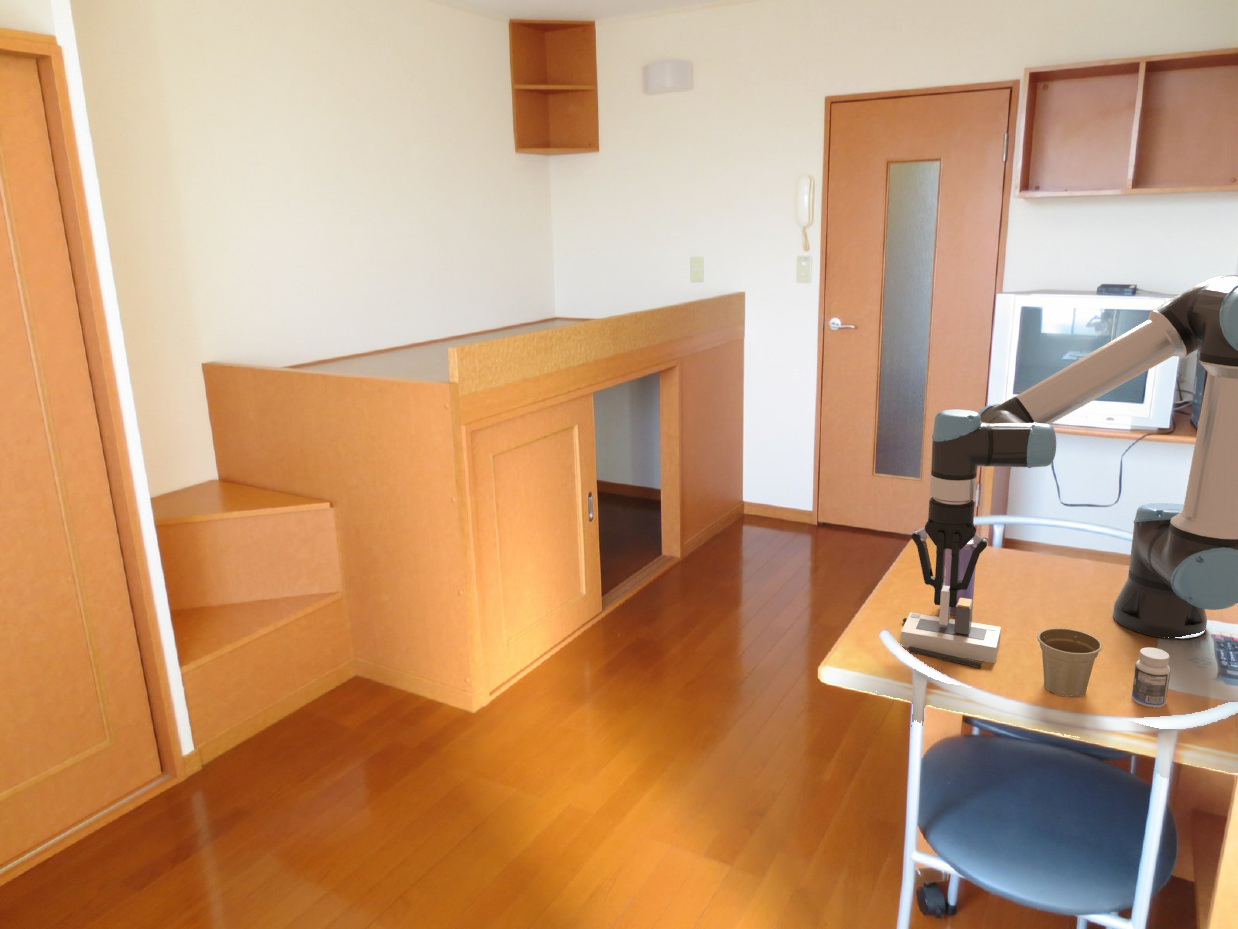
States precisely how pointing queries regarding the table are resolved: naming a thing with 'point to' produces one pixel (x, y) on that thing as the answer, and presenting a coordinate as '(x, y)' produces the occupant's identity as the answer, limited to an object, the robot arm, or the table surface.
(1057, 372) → the robot arm
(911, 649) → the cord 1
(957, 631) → the lever
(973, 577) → the beverage can
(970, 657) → the white slider switch base
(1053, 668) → the flower pot
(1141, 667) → the pill bottle
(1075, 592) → the table surface
